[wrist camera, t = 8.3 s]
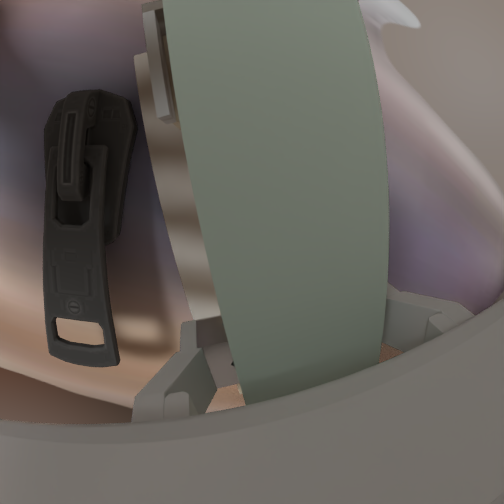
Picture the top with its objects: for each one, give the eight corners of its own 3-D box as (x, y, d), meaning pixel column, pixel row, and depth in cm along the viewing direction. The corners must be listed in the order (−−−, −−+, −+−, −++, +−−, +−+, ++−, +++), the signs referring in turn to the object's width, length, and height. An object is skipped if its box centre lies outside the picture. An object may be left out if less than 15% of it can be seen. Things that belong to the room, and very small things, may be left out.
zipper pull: (45, 360, 22) (24, 87, 14) (65, 325, 29) (58, 96, 20) (125, 373, 24) (125, 76, 16) (135, 333, 30) (142, 92, 22)
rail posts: (136, 60, 21) (91, 1, 9) (264, 38, 22) (313, -29, 10) (207, 354, 33) (216, 446, 21) (306, 330, 34) (351, 410, 22)
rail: (167, -18, 7) (155, -99, 2) (271, -27, 7) (315, -100, 3) (265, 455, 17) (282, 515, 12) (321, 440, 17) (345, 496, 12)
